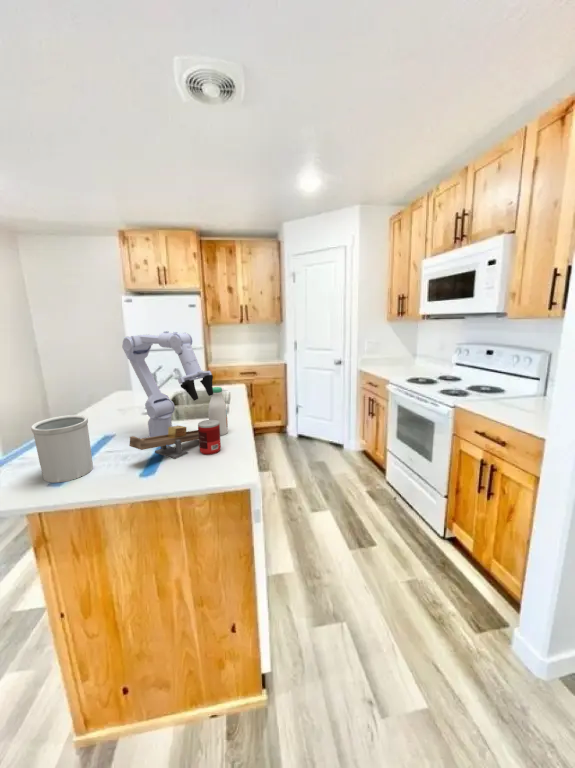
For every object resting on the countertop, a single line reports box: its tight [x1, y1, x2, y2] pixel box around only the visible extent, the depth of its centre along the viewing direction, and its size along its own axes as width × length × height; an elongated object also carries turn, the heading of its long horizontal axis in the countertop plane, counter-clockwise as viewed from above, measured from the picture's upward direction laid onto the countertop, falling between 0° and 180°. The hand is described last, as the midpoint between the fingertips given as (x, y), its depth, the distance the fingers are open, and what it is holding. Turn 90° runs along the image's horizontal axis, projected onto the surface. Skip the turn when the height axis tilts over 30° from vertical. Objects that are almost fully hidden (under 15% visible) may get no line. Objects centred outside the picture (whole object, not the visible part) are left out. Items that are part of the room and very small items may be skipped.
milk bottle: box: [207, 386, 229, 436], centre depth 142 cm, size 8×8×20 cm
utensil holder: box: [30, 414, 94, 484], centre depth 107 cm, size 15×15×18 cm
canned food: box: [197, 419, 222, 455], centre depth 124 cm, size 8×8×11 cm
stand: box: [154, 440, 189, 460], centre depth 123 cm, size 11×6×6 cm, turn 58°
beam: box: [129, 429, 199, 451], centre depth 124 cm, size 7×32×3 cm, turn 148°
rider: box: [168, 425, 187, 438], centre depth 125 cm, size 4×5×4 cm
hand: (203, 397), depth 123 cm, fingers open, 7 cm apart
